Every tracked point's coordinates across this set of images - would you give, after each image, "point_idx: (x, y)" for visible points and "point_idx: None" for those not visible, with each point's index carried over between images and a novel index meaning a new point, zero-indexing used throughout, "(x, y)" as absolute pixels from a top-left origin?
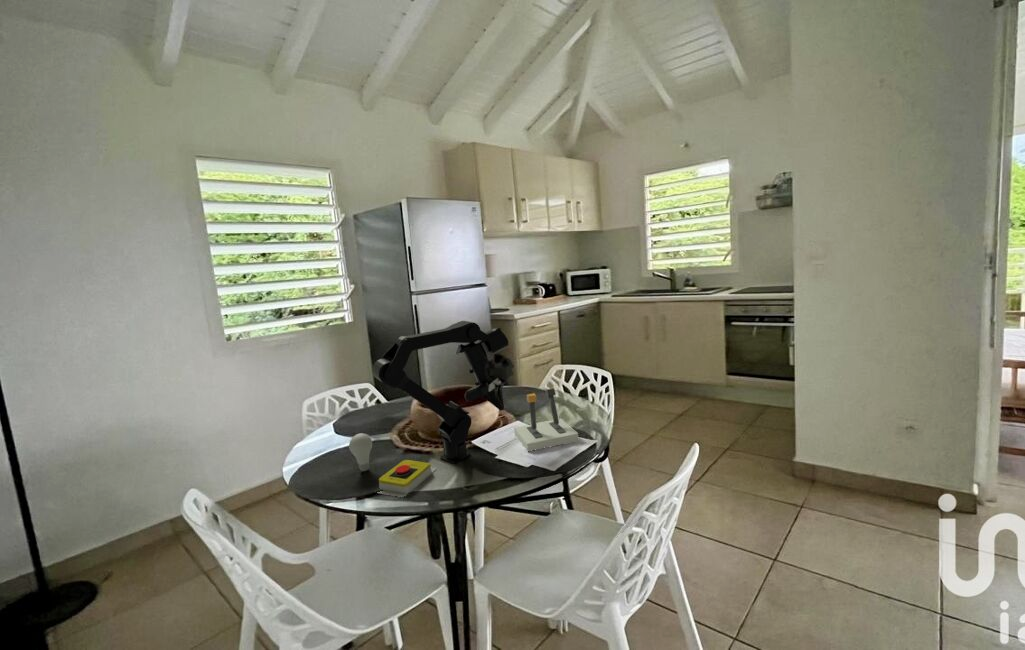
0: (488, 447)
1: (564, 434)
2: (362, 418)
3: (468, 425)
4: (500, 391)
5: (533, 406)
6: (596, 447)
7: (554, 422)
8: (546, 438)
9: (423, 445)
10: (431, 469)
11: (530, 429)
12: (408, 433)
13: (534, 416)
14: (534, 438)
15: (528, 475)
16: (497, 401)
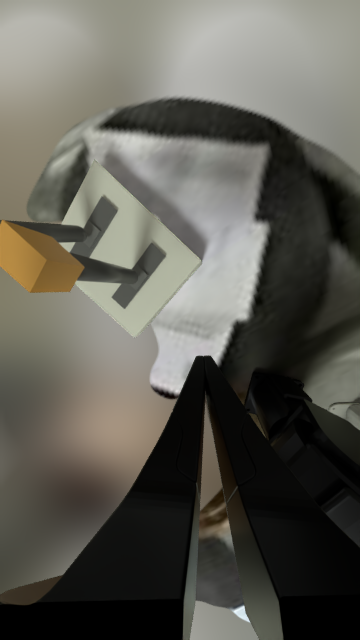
0: (210, 355)
1: (116, 193)
2: None
3: (325, 430)
4: (173, 482)
5: (85, 257)
6: (118, 109)
7: (83, 235)
8: (155, 228)
9: None
10: (339, 411)
11: (130, 293)
12: (210, 509)
13: (114, 265)
14: (166, 259)
15: (308, 196)
16: (242, 412)
